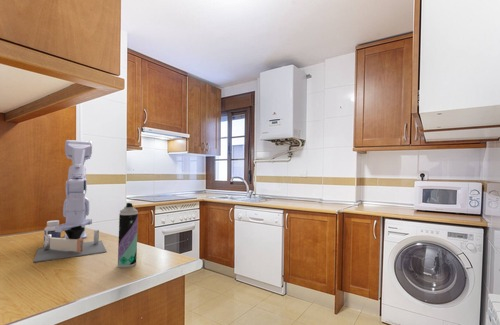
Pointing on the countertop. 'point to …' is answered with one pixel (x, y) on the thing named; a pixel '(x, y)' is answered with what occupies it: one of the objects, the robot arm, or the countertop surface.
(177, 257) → the countertop surface
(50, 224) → the pill bottle
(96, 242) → the posts
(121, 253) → the spray can
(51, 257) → the mat
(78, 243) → the gate
